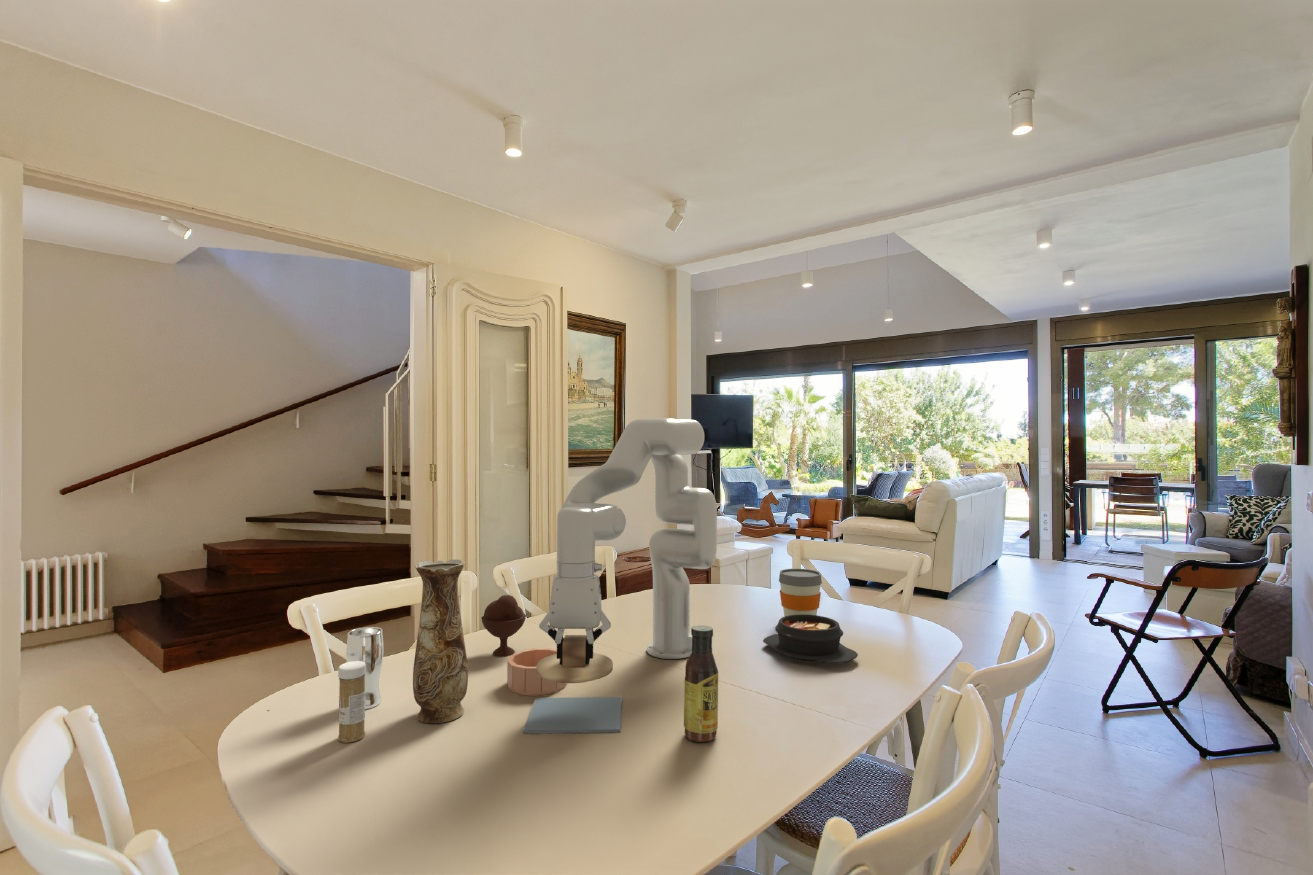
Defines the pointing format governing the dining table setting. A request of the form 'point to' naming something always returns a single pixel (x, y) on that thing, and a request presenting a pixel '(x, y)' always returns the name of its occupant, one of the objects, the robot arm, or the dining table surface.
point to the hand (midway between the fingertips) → (575, 661)
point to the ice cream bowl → (503, 622)
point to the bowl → (530, 673)
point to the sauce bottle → (701, 688)
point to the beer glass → (367, 659)
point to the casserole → (810, 639)
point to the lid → (574, 663)
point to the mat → (575, 715)
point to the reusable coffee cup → (800, 591)
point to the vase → (440, 645)
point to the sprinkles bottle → (351, 701)
